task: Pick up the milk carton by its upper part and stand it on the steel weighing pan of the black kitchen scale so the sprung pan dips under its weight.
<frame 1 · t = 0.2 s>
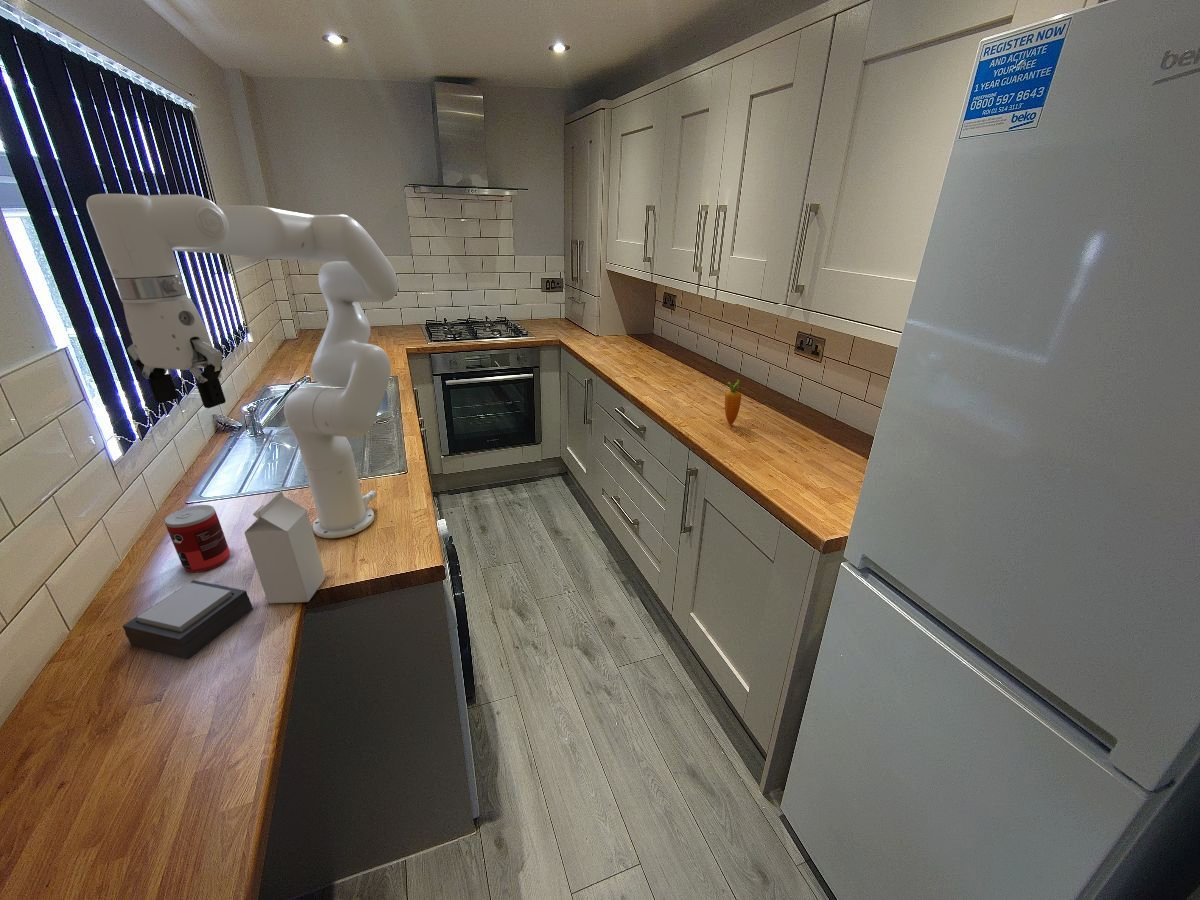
hand: (191, 403, 82), 36 cm above the countertop, tool pointing down, fingers open, 9 cm apart
carrot: (730, 425, 170), on the countertop
scale: (194, 626, 88), on the countertop
scale pan: (186, 607, 87), point 4 cm above the countertop, slide at -0.2 cm
canned food: (208, 562, 105), on the countertop
milk carton: (298, 591, 96), on the countertop
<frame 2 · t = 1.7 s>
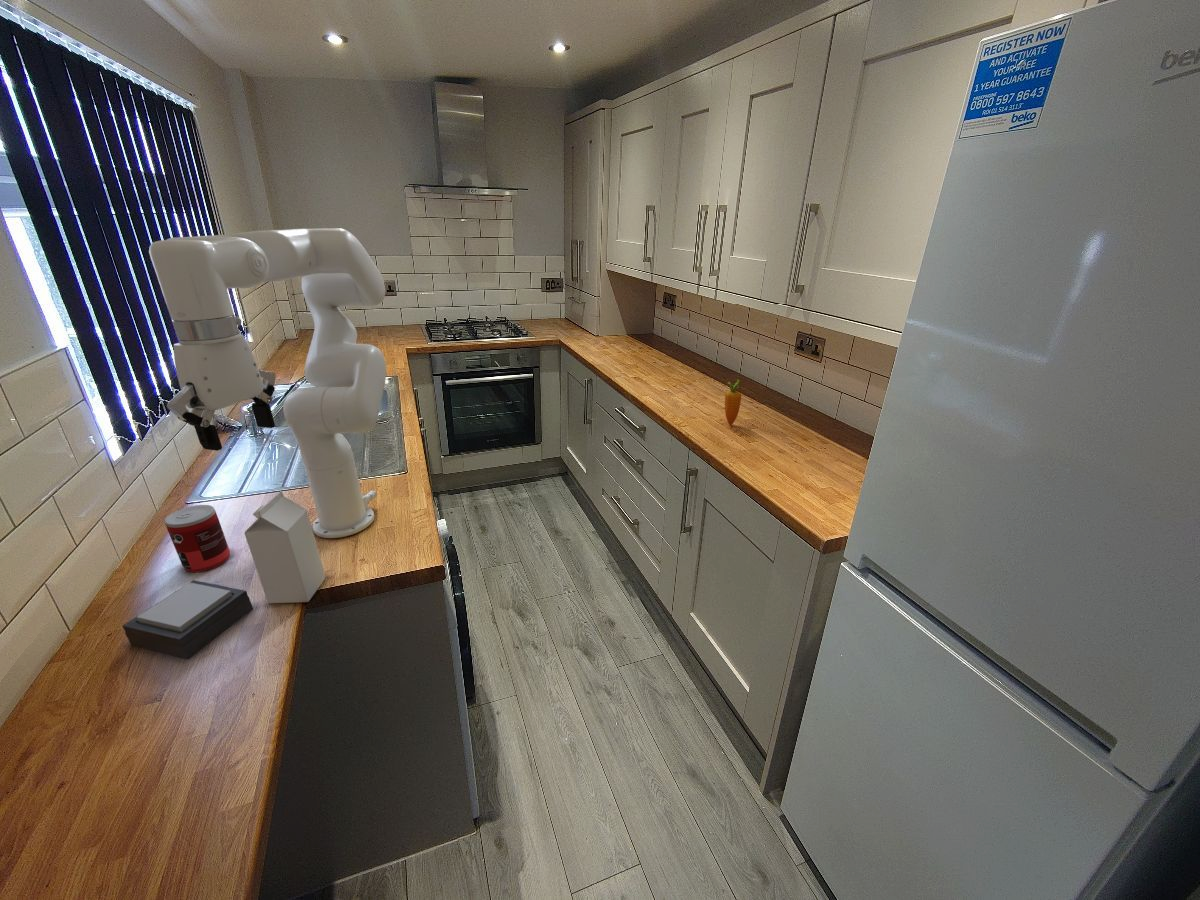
hand: (241, 437, 84), 31 cm above the countertop, tool pointing down, fingers open, 9 cm apart
nothing on the countertop moved.
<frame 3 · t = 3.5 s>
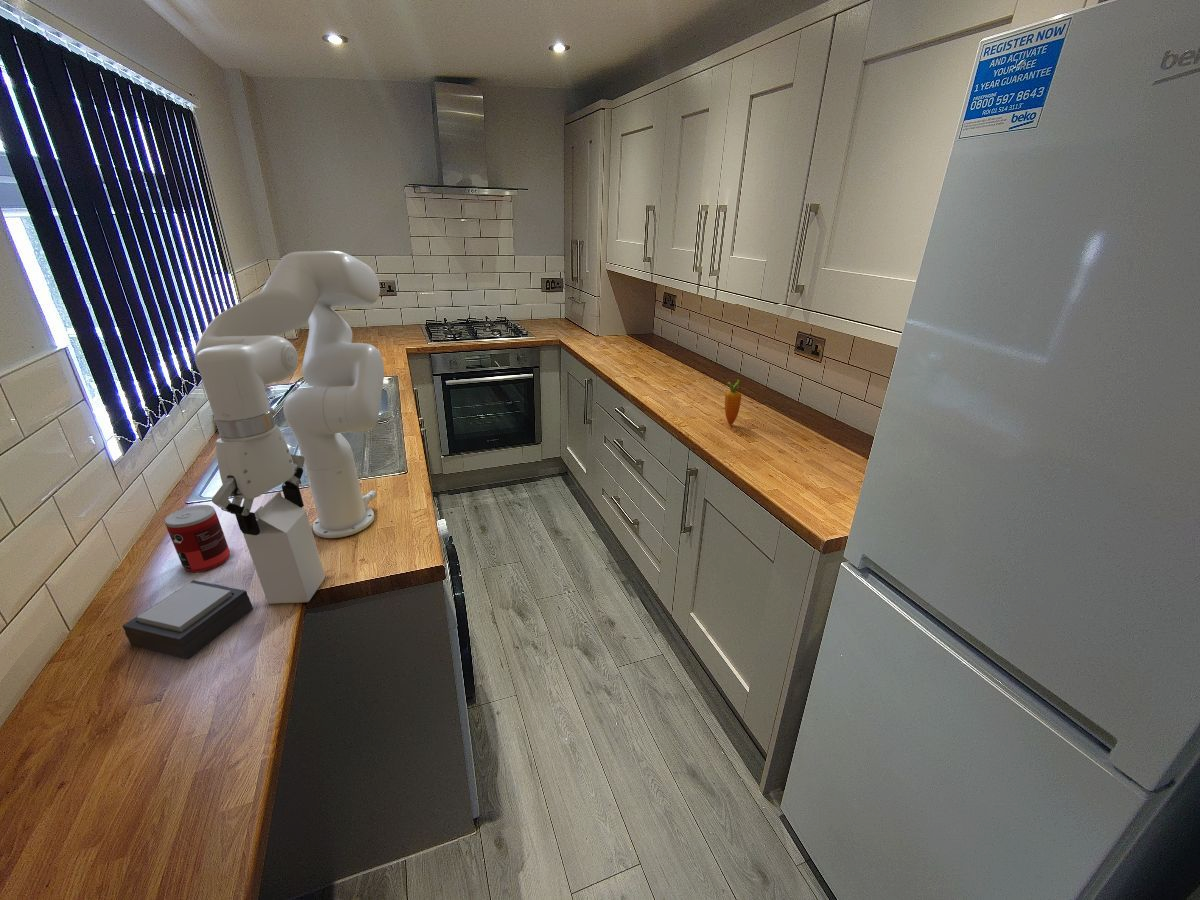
hand: (274, 519, 90), 16 cm above the countertop, tool pointing down, fingers open, 8 cm apart
milk carton: (298, 591, 96), on the countertop, touching gripper
everything else where it was.
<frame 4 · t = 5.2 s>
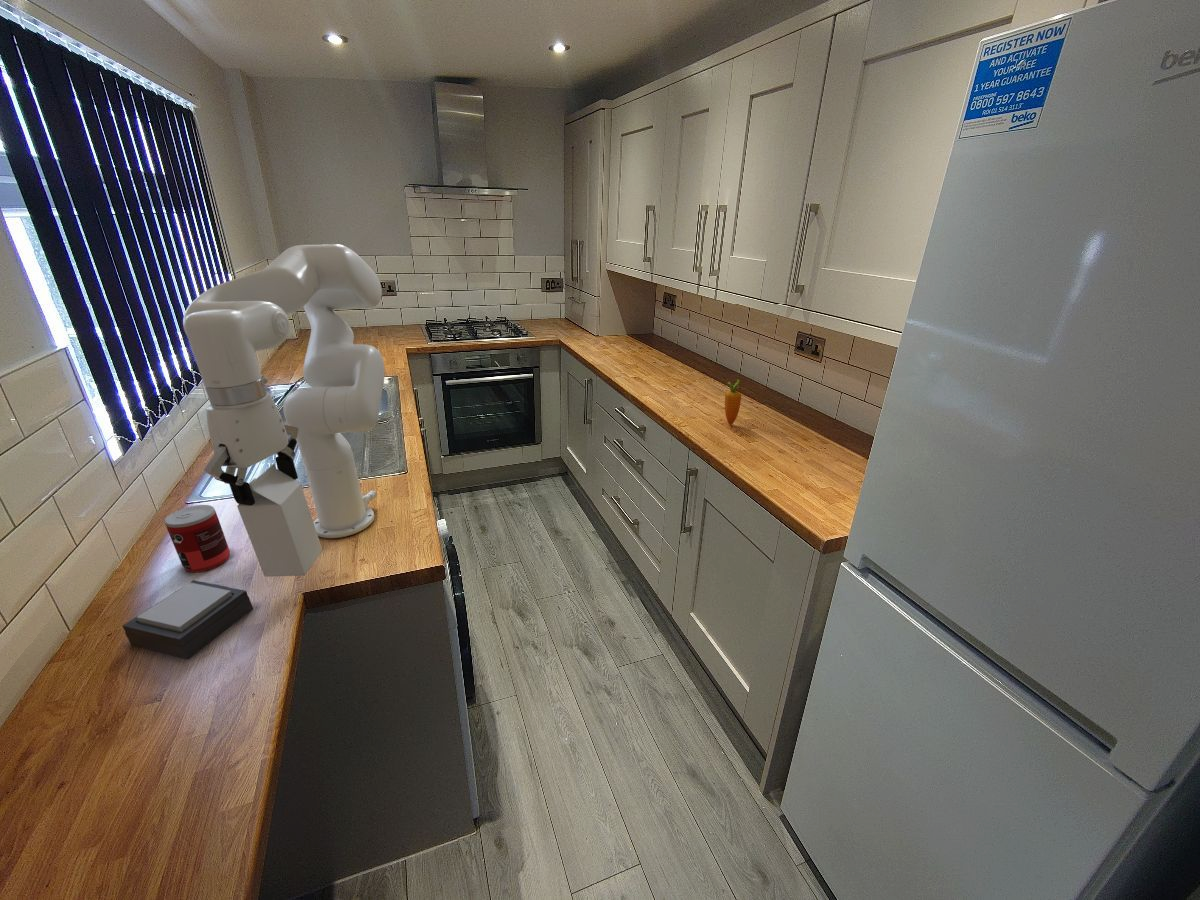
hand: (268, 490, 88), 21 cm above the countertop, tool pointing down, fingers closed on milk carton, 8 cm apart
milk carton: (295, 564, 96), point 5 cm above the countertop, touching gripper
everything else where it was.
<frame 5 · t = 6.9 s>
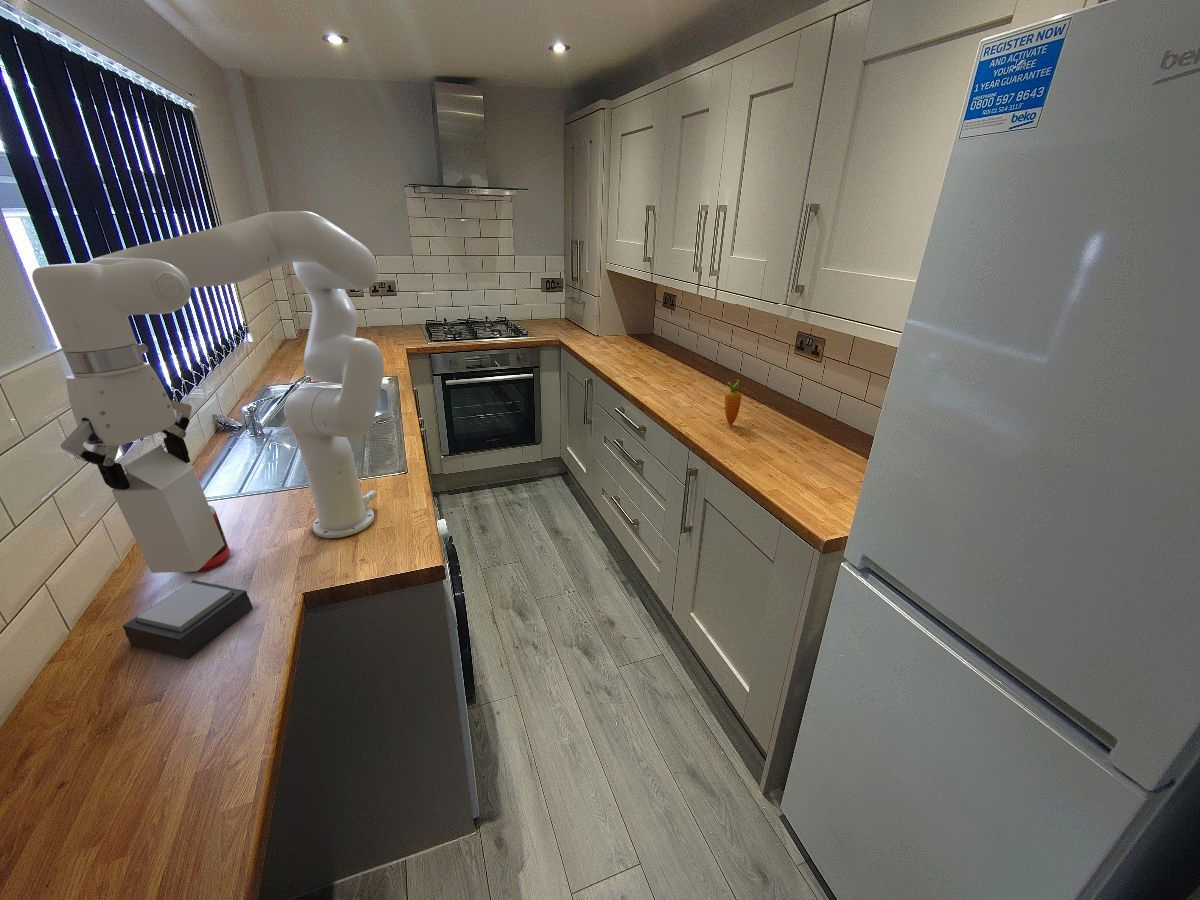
hand: (152, 474, 78), 28 cm above the countertop, tool pointing down, fingers closed on milk carton, 8 cm apart
milk carton: (190, 560, 85), point 12 cm above the countertop, touching gripper
everything else where it was.
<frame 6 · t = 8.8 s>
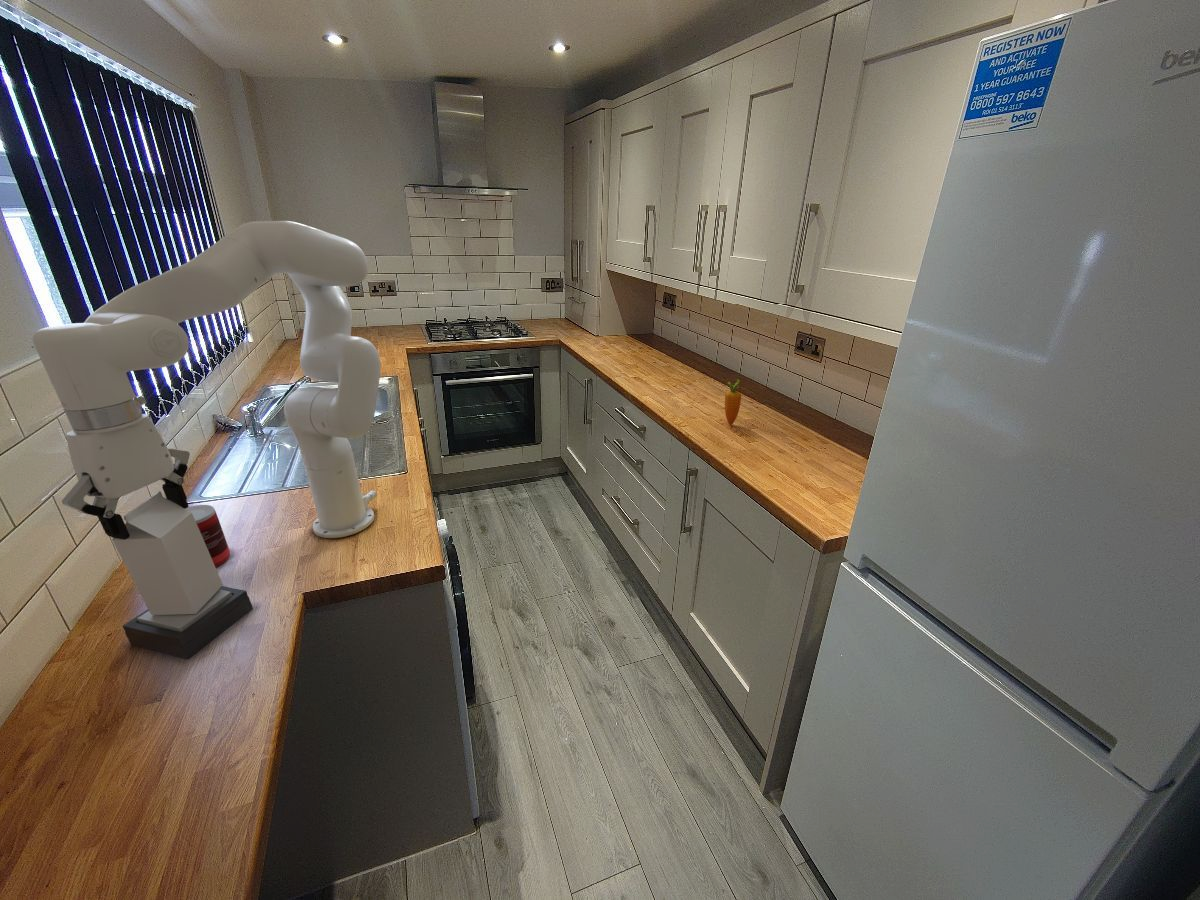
hand: (151, 521, 80), 21 cm above the countertop, tool pointing down, fingers closed on milk carton, 8 cm apart
scale pan: (187, 608, 87), point 4 cm above the countertop, slide at -0.5 cm, touching milk carton
milk carton: (189, 601, 87), point 5 cm above the countertop, touching gripper, scale pan
everything else where it was.
when the fingers open (21 cm above the countertop, at t = 9.3 s): milk carton stays where it is, resting on scale pan.
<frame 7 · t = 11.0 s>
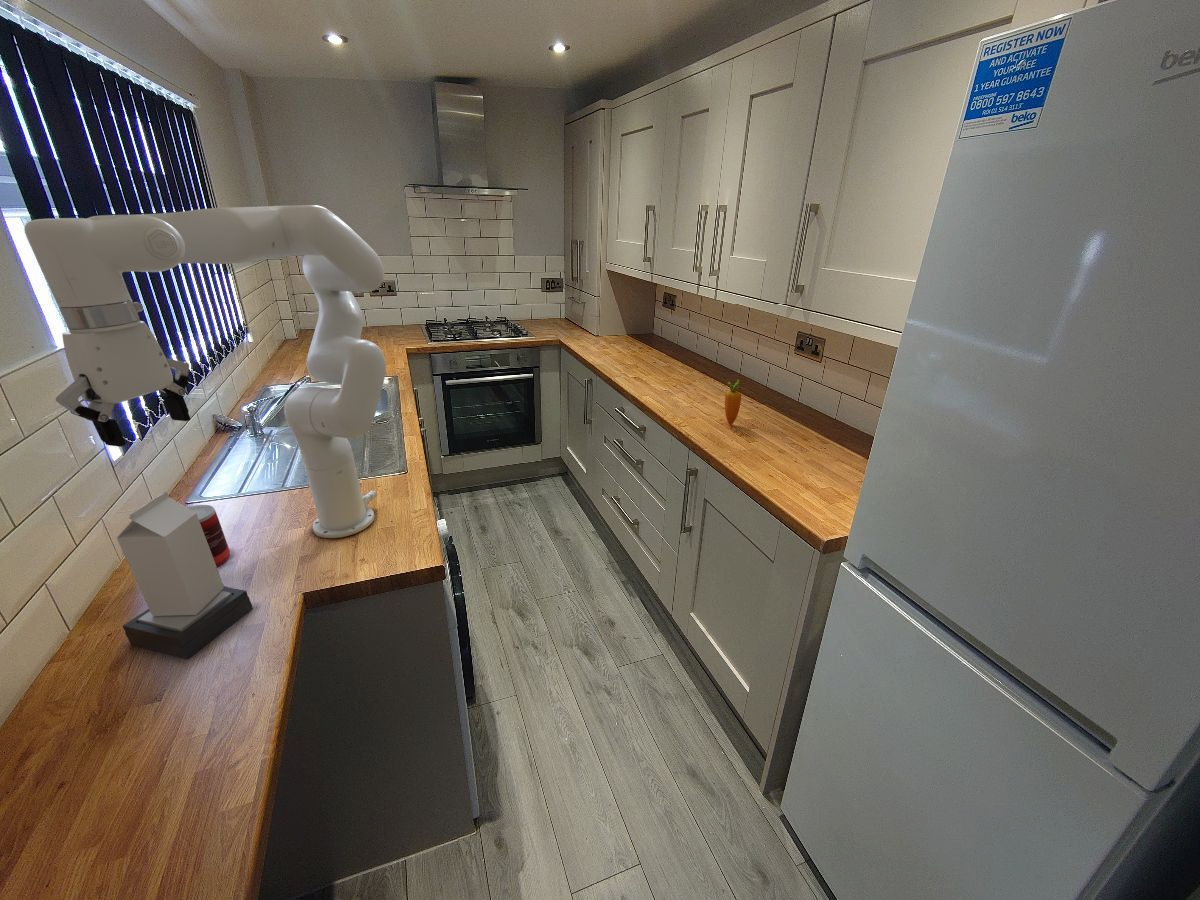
hand: (150, 431, 79), 34 cm above the countertop, tool pointing down, fingers open, 9 cm apart
milk carton: (190, 602, 87), point 4 cm above the countertop, touching scale pan
everything else where it was.
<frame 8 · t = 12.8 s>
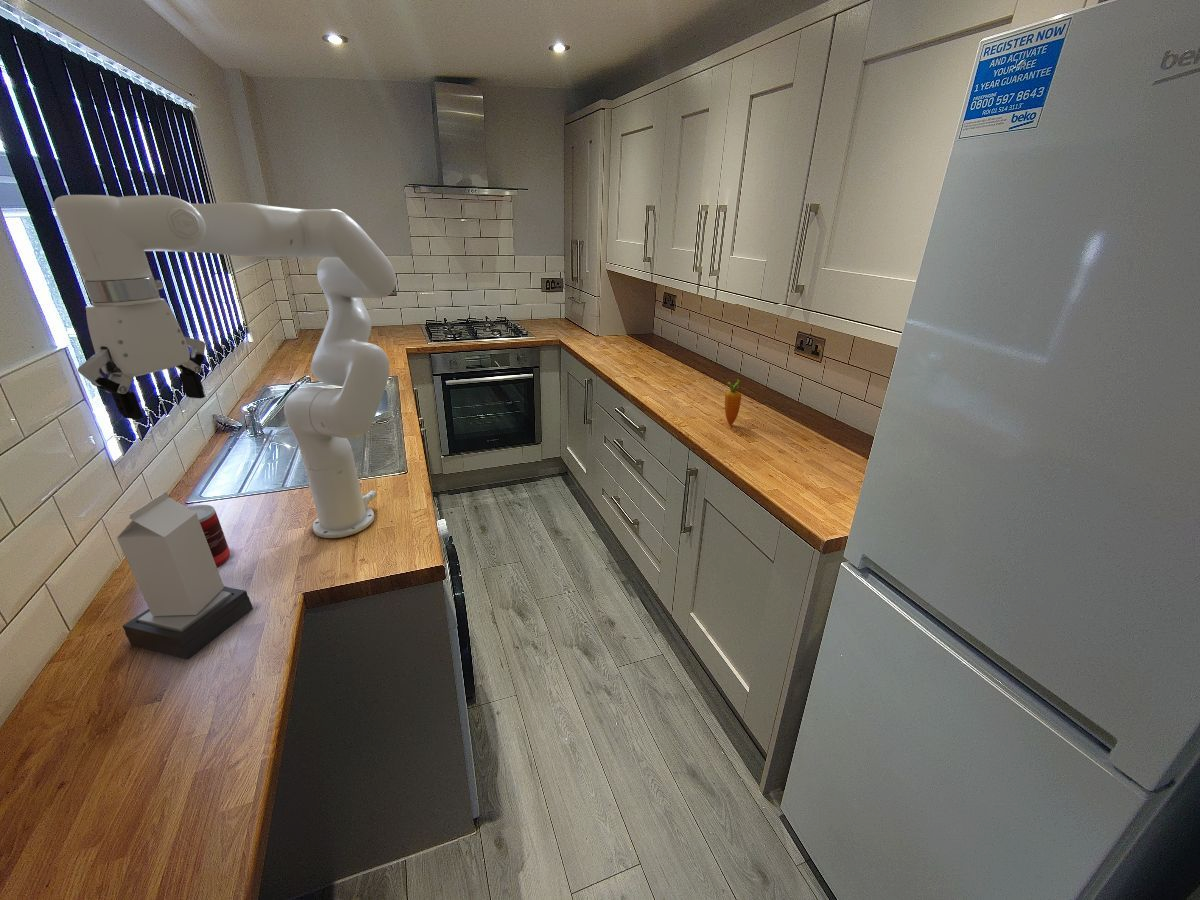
hand: (166, 407, 81), 36 cm above the countertop, tool pointing down, fingers open, 9 cm apart
nothing on the countertop moved.
at the end: milk carton 0.8 cm off-centre on the scale, point 4.2 cm above the scale's base; milk carton tilted 0°; scale pan pushed in 0.7 cm at the most during the clip, back to 0.7 cm at the end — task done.
